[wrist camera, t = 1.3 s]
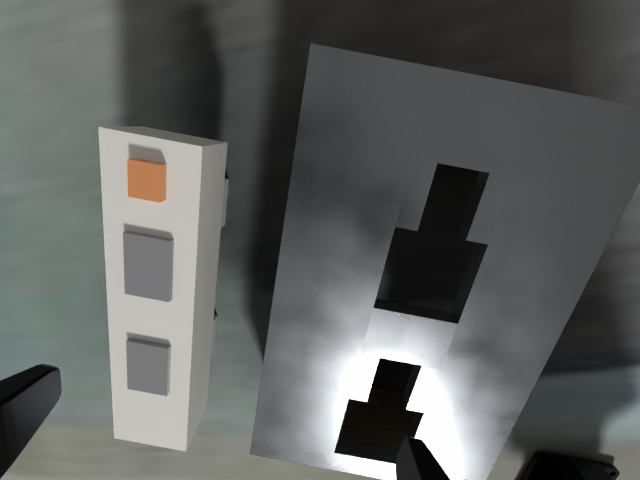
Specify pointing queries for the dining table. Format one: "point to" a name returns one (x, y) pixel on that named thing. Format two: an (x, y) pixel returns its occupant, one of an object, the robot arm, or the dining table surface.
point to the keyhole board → (405, 212)
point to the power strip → (161, 277)
